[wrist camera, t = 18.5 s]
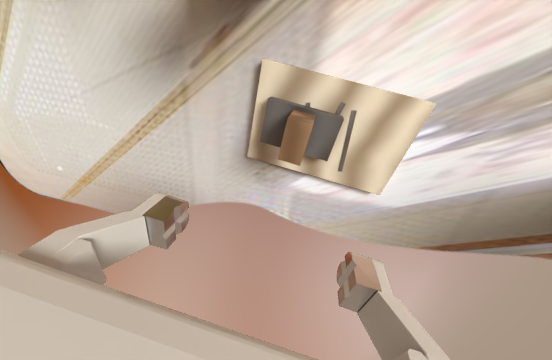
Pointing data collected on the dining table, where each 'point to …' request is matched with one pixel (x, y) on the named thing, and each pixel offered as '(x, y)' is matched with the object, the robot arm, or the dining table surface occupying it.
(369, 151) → the birch board
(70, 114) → the dining table surface
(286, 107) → the block
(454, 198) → the dining table surface
